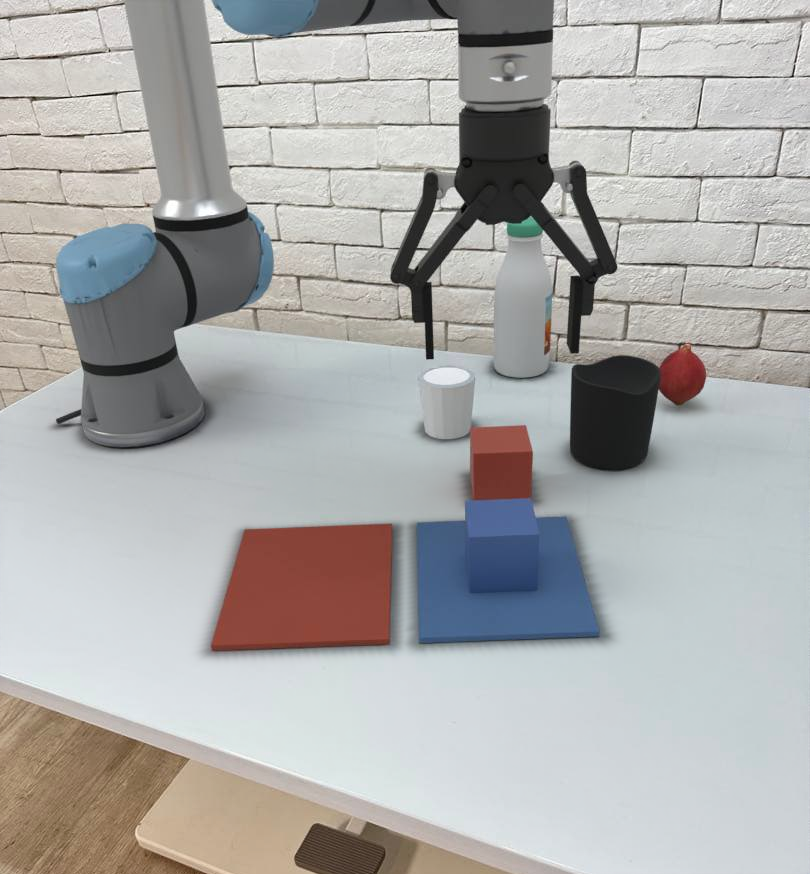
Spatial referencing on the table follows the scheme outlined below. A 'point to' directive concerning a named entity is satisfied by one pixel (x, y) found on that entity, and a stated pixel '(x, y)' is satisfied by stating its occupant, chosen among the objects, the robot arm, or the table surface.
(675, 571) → the table surface
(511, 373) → the milk bottle
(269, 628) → the red mat
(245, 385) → the table surface
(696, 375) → the pomegranate
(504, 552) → the blue block
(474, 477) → the red block
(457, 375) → the white cup
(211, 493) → the table surface
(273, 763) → the table surface
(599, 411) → the pen holder
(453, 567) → the blue mat
